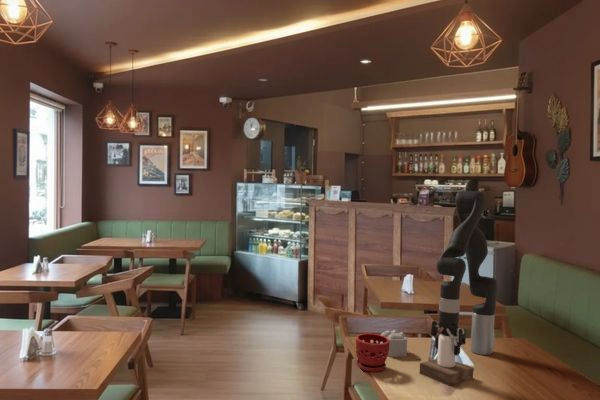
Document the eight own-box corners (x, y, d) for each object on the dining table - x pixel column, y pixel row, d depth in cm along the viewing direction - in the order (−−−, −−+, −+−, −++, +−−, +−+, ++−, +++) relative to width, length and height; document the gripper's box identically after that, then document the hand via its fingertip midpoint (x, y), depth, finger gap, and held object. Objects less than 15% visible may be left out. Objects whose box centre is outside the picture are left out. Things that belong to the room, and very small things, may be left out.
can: (455, 369, 199) (456, 337, 199) (437, 367, 201) (439, 335, 200) (454, 363, 206) (455, 332, 205) (437, 361, 207) (438, 331, 207)
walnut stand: (443, 367, 213) (443, 357, 213) (472, 378, 201) (473, 367, 201) (419, 373, 204) (419, 363, 204) (449, 385, 193) (449, 374, 193)
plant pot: (350, 370, 205) (351, 339, 205) (361, 360, 217) (362, 331, 217) (382, 376, 200) (384, 345, 199) (392, 366, 212) (393, 336, 211)
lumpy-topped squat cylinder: (385, 357, 223) (386, 336, 222) (376, 347, 235) (377, 327, 235) (409, 356, 224) (410, 336, 224) (398, 347, 237) (399, 327, 237)
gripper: (471, 312, 198) (469, 355, 199) (440, 304, 210) (438, 345, 211) (458, 315, 194) (456, 358, 195) (427, 306, 205) (426, 348, 206)
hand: (447, 351), depth 203 cm, fingers open, 8 cm apart
